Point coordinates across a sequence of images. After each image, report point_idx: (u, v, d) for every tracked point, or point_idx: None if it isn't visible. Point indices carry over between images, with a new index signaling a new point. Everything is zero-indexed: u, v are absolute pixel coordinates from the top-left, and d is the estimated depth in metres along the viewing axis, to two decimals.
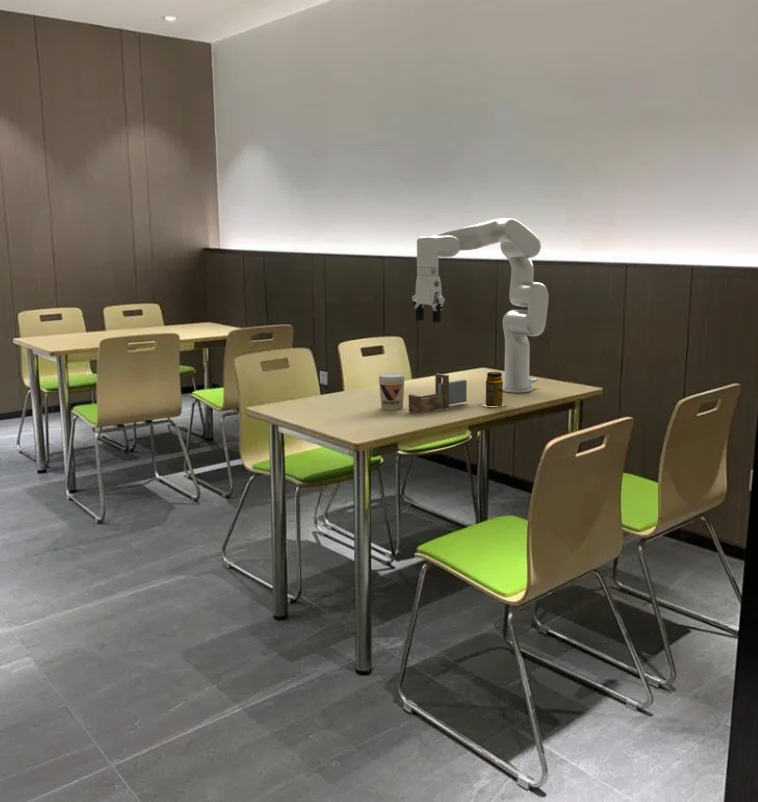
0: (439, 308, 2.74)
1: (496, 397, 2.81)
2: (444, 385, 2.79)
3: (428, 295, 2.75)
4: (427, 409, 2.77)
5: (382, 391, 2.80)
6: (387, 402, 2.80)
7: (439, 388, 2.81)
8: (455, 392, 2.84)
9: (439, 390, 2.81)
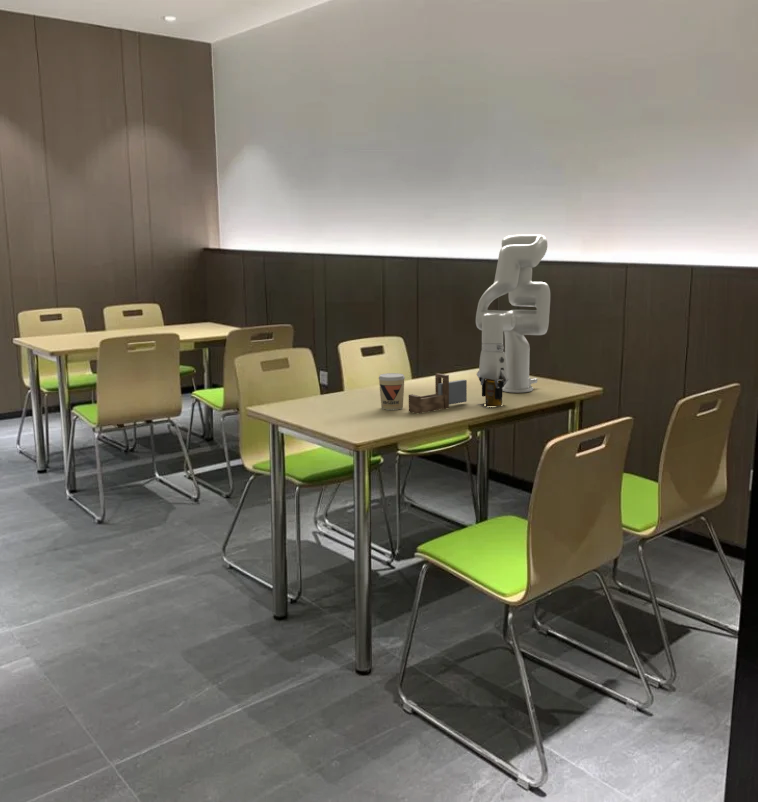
0: (501, 386, 2.79)
1: None
2: (444, 385, 2.79)
3: (493, 371, 2.78)
4: (427, 409, 2.77)
5: (382, 391, 2.80)
6: (387, 402, 2.80)
7: (439, 388, 2.81)
8: (455, 392, 2.84)
9: (439, 390, 2.81)
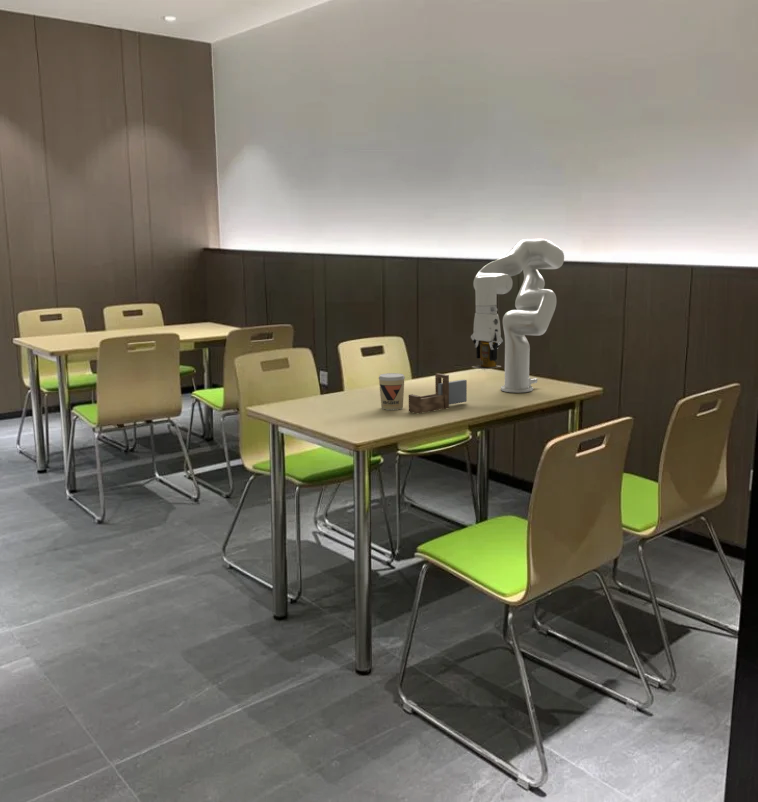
0: (496, 347, 2.84)
1: None
2: (444, 385, 2.79)
3: (488, 332, 2.83)
4: (427, 409, 2.77)
5: (382, 391, 2.80)
6: (387, 402, 2.80)
7: (439, 388, 2.81)
8: (455, 392, 2.84)
9: (439, 390, 2.81)
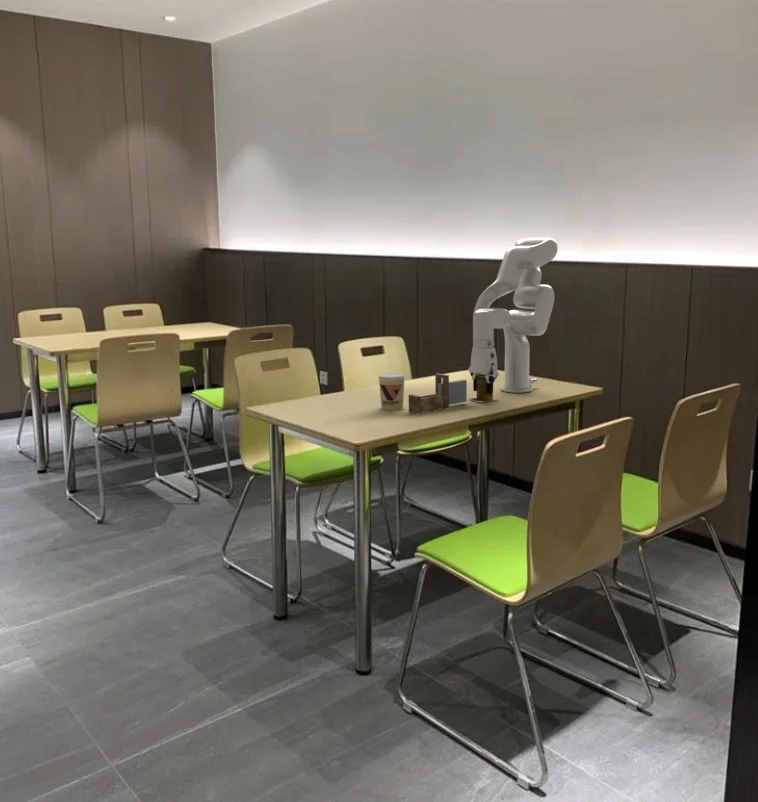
0: (492, 380, 2.88)
1: None
2: (444, 385, 2.79)
3: (484, 366, 2.87)
4: (427, 409, 2.77)
5: (382, 391, 2.80)
6: (387, 402, 2.80)
7: (439, 388, 2.81)
8: (455, 392, 2.84)
9: (439, 390, 2.81)
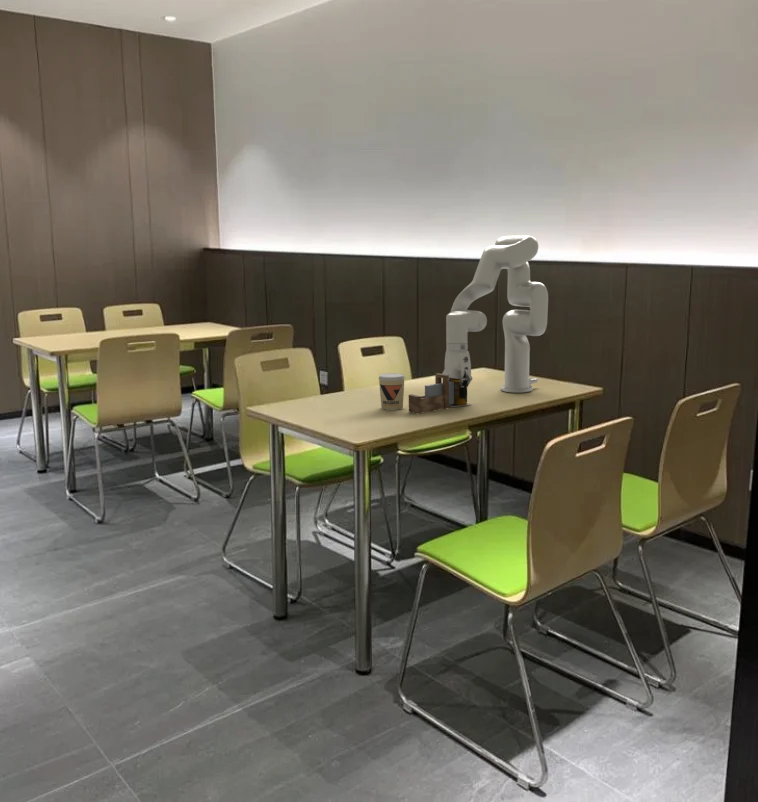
0: (466, 385, 2.81)
1: None
2: (444, 385, 2.79)
3: (458, 370, 2.80)
4: (427, 409, 2.77)
5: (382, 391, 2.80)
6: (387, 402, 2.80)
7: (426, 390, 2.78)
8: (442, 394, 2.81)
9: (426, 392, 2.78)
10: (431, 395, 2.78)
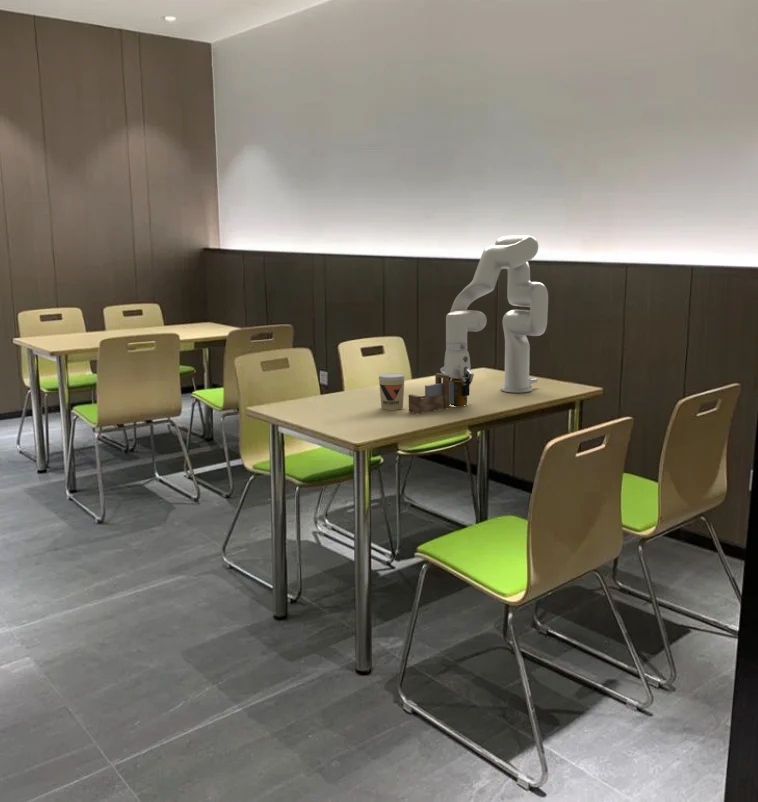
0: (468, 383, 2.79)
1: (460, 396, 2.84)
2: (444, 385, 2.79)
3: (457, 370, 2.80)
4: (427, 409, 2.77)
5: (382, 391, 2.80)
6: (387, 402, 2.80)
7: (426, 390, 2.78)
8: (442, 394, 2.81)
9: (426, 392, 2.78)
10: (431, 395, 2.78)
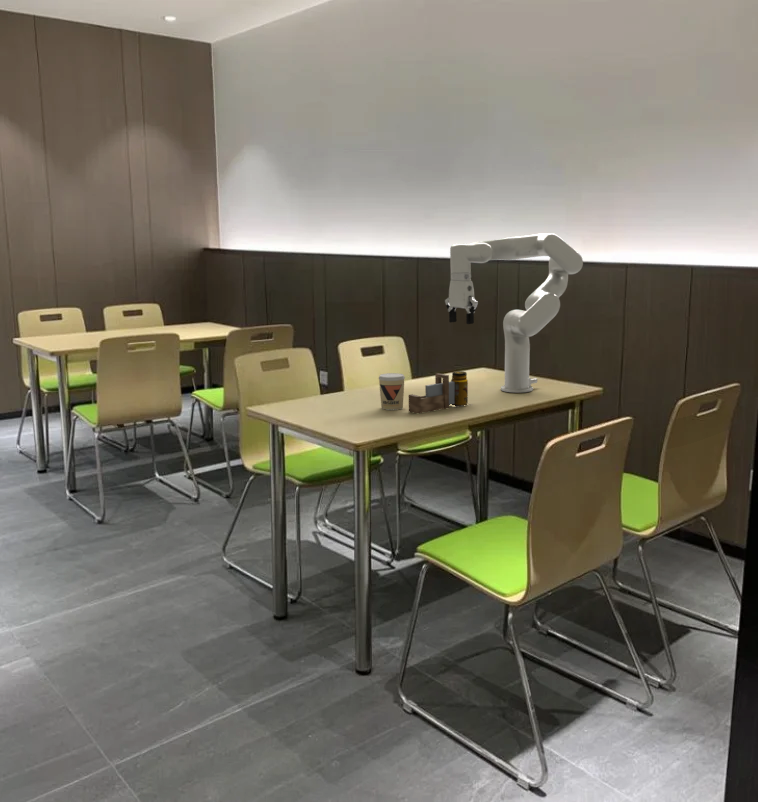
0: (472, 311, 2.93)
1: (461, 396, 2.84)
2: (444, 385, 2.79)
3: (462, 299, 2.94)
4: (427, 409, 2.77)
5: (382, 391, 2.80)
6: (387, 402, 2.80)
7: (426, 390, 2.78)
8: None
9: (426, 392, 2.78)
10: (432, 395, 2.78)
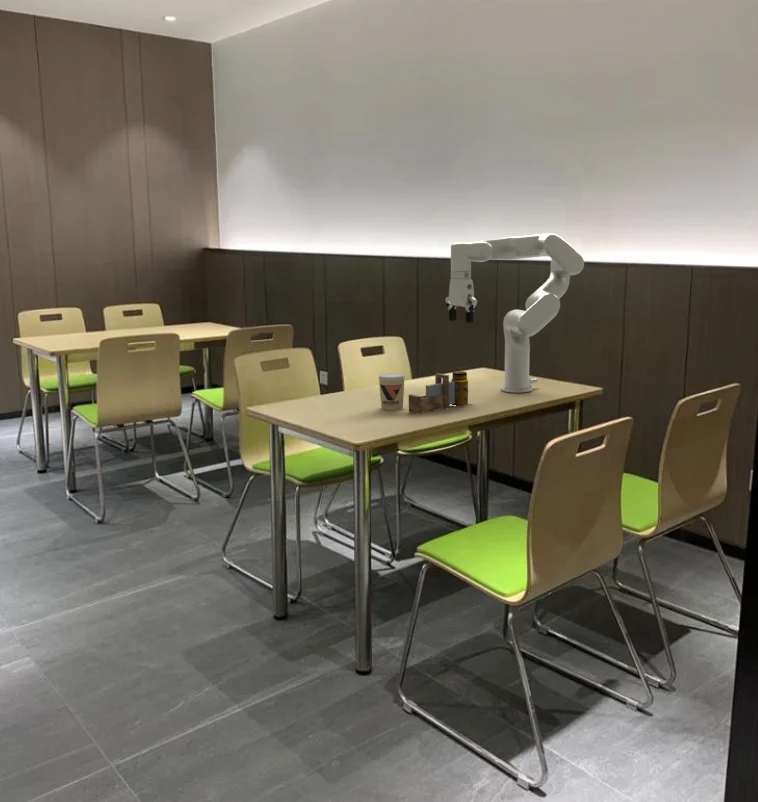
0: (472, 309, 2.94)
1: (461, 396, 2.84)
2: (444, 385, 2.79)
3: (461, 297, 2.94)
4: (427, 409, 2.77)
5: (382, 391, 2.80)
6: (387, 402, 2.80)
7: (427, 390, 2.78)
8: None
9: (427, 392, 2.78)
10: (432, 395, 2.78)
